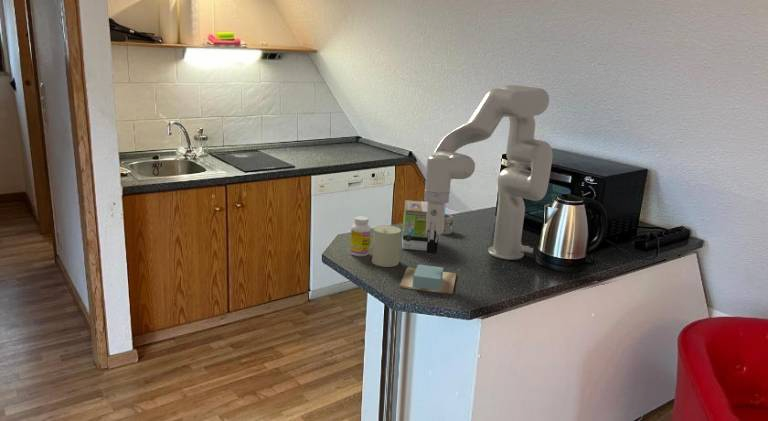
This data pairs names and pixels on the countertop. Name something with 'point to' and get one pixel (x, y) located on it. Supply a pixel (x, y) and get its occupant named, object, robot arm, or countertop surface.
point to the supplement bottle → (360, 237)
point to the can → (386, 246)
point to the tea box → (414, 225)
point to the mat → (445, 287)
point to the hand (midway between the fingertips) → (431, 253)
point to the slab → (428, 277)
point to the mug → (447, 224)
